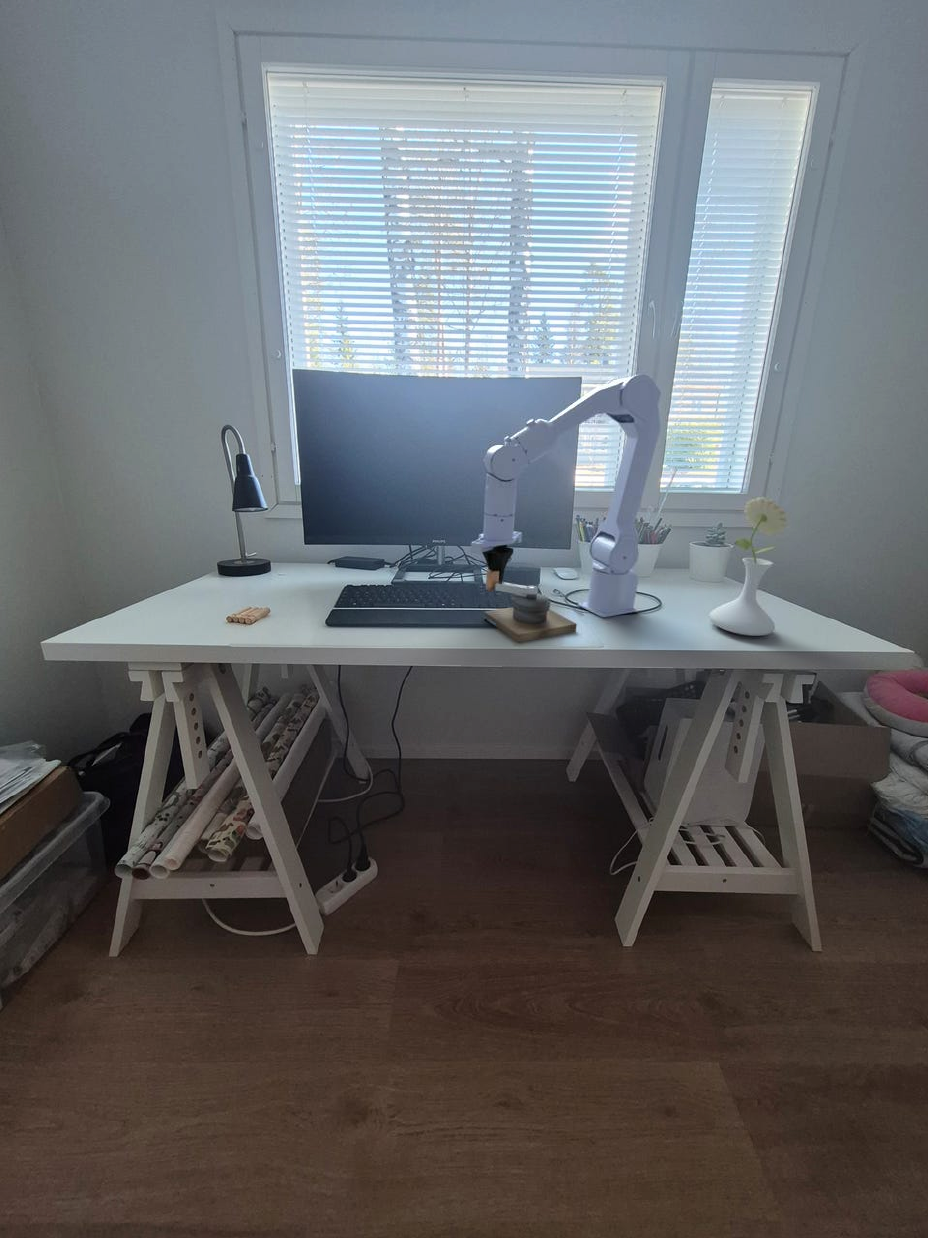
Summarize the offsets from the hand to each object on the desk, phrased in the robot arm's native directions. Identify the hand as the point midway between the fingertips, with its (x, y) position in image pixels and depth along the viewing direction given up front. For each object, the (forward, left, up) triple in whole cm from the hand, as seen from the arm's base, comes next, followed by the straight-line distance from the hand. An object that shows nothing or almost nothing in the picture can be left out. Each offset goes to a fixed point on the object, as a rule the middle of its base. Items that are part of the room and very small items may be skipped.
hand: (495, 583), depth 92 cm
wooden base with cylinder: (-3, +8, -6) cm, 11 cm away
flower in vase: (-41, +25, -7) cm, 49 cm away
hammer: (-1, +4, -1) cm, 5 cm away
